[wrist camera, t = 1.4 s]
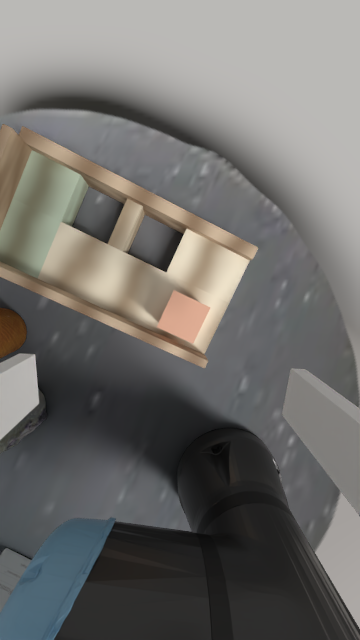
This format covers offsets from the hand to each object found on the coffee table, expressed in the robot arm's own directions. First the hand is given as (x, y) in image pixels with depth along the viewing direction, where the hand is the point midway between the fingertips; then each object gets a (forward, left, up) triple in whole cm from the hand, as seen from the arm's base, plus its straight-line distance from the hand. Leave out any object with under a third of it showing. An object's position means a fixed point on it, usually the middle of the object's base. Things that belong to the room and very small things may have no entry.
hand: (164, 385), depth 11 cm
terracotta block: (0, -3, -16) cm, 17 cm away
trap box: (+10, -7, -19) cm, 22 cm away
